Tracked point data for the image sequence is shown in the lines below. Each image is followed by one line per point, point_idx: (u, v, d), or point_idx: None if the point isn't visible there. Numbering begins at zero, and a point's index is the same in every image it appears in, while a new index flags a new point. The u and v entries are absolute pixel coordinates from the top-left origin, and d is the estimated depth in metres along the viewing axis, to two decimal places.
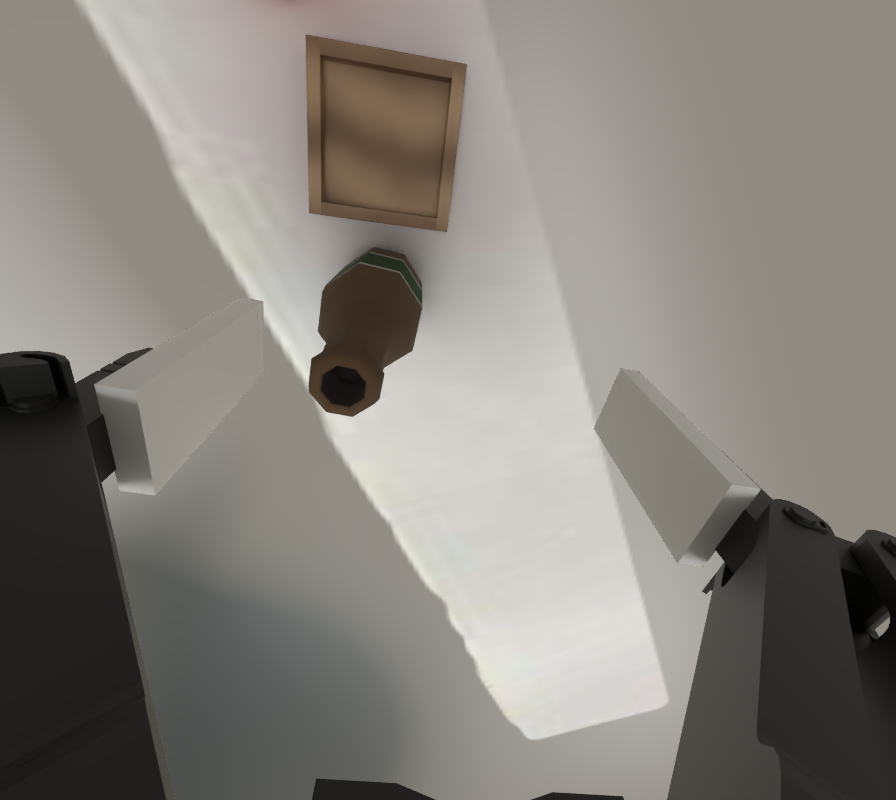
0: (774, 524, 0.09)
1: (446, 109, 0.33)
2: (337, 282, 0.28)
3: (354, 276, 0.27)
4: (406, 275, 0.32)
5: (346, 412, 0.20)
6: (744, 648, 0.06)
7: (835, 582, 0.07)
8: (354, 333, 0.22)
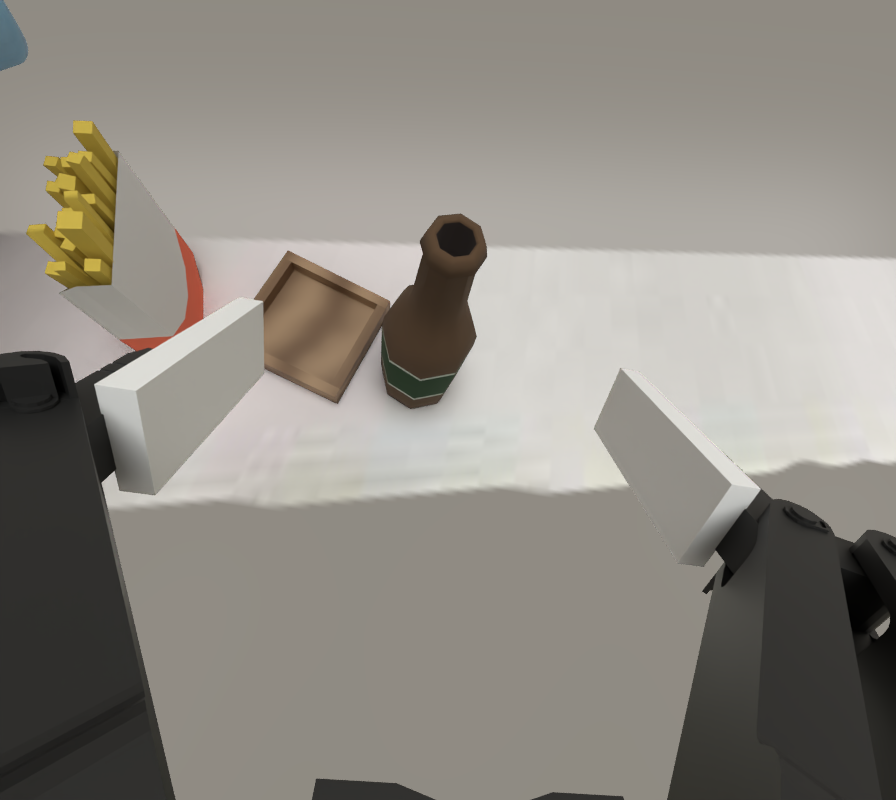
0: (774, 524, 0.09)
1: (308, 278, 0.44)
2: (388, 334, 0.31)
3: (388, 313, 0.31)
4: None
5: (480, 246, 0.22)
6: (744, 648, 0.06)
7: (835, 582, 0.07)
8: None
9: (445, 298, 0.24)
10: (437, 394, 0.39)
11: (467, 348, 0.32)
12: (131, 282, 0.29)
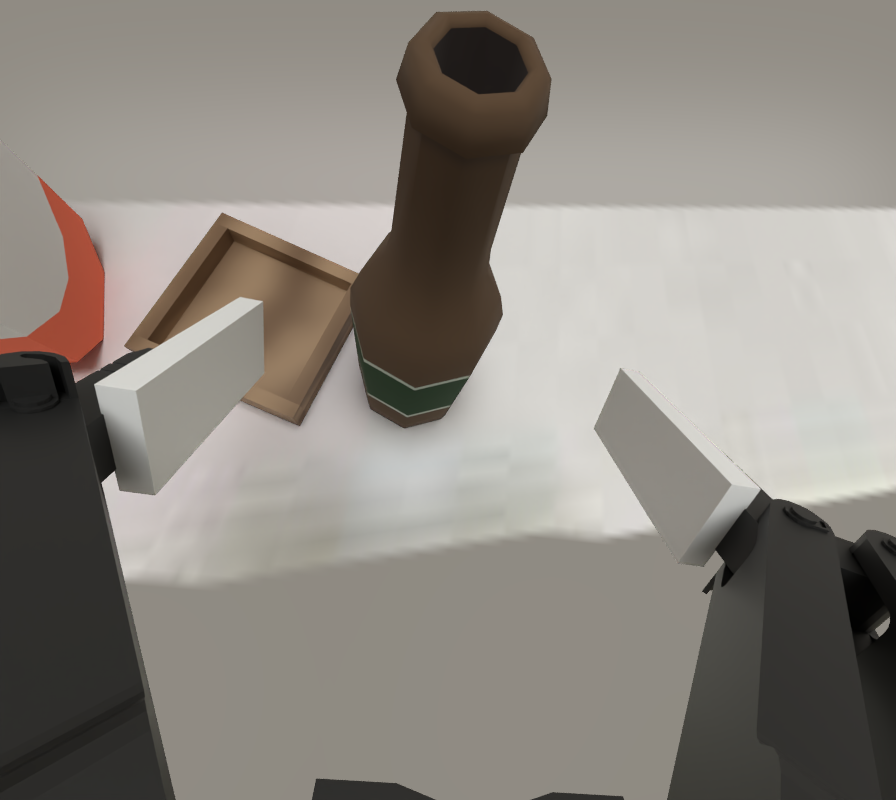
0: (774, 524, 0.09)
1: (255, 251, 0.32)
2: (358, 316, 0.19)
3: (356, 280, 0.18)
4: None
5: (538, 75, 0.09)
6: (744, 648, 0.06)
7: (835, 582, 0.07)
8: None
9: (456, 224, 0.12)
10: (441, 407, 0.27)
11: (489, 334, 0.19)
12: None
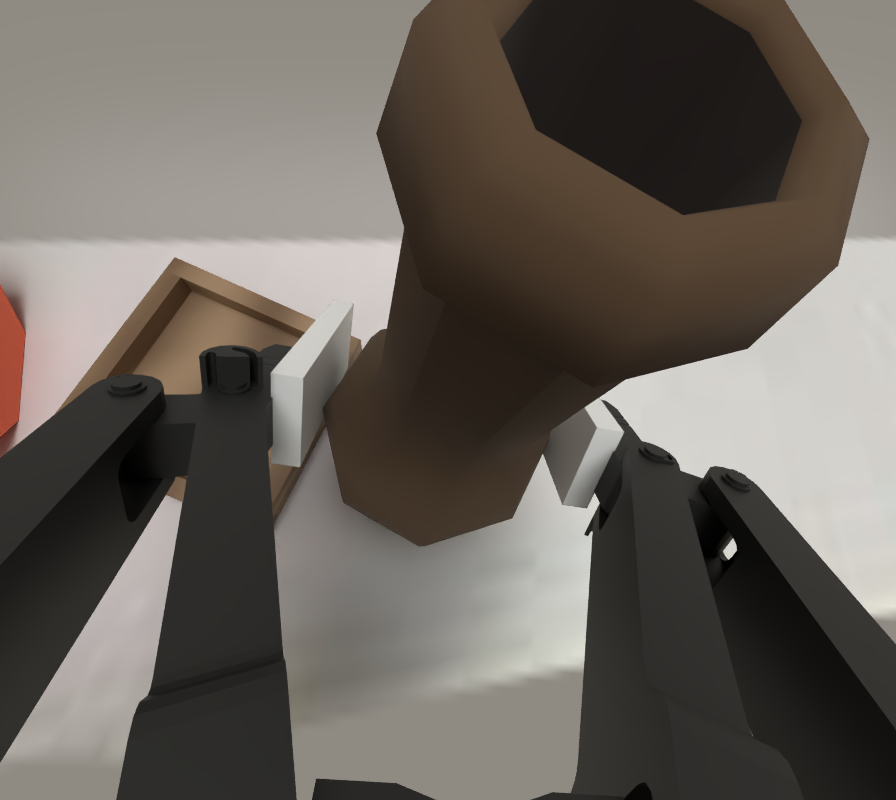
0: (634, 466, 0.09)
1: (217, 304, 0.25)
2: (334, 455, 0.12)
3: (330, 404, 0.12)
4: None
5: (850, 131, 0.03)
6: (624, 591, 0.07)
7: (684, 508, 0.08)
8: None
9: (515, 425, 0.06)
10: None
11: (531, 476, 0.13)
12: None
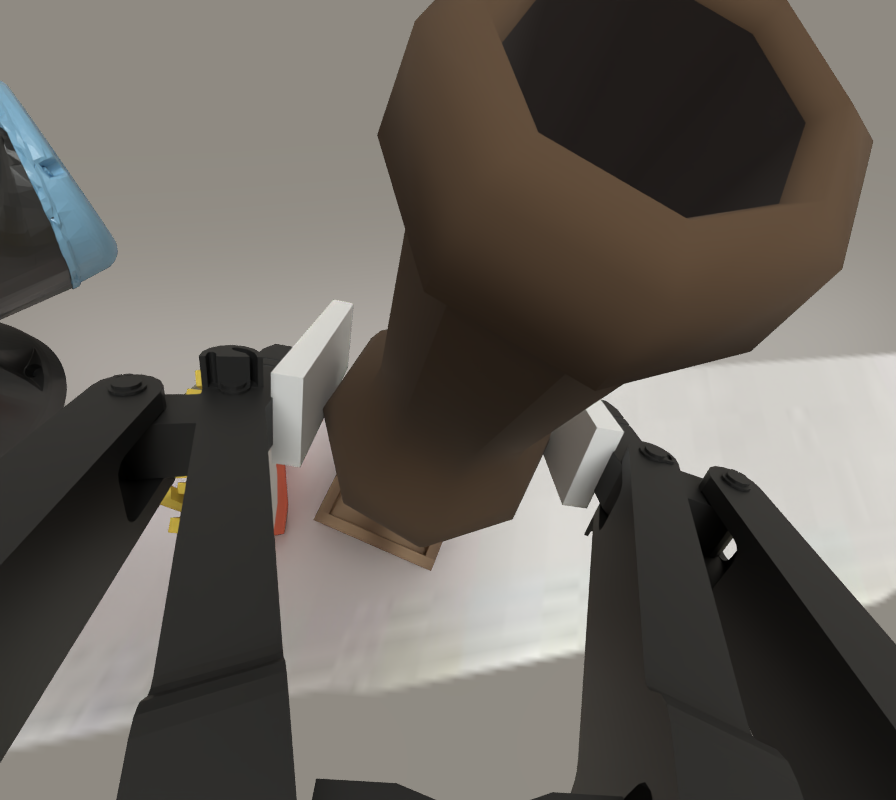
0: (634, 466, 0.09)
1: None
2: (334, 456, 0.12)
3: (329, 405, 0.12)
4: None
5: (855, 132, 0.03)
6: (625, 591, 0.07)
7: (684, 508, 0.08)
8: None
9: (516, 427, 0.06)
10: None
11: (531, 476, 0.13)
12: None
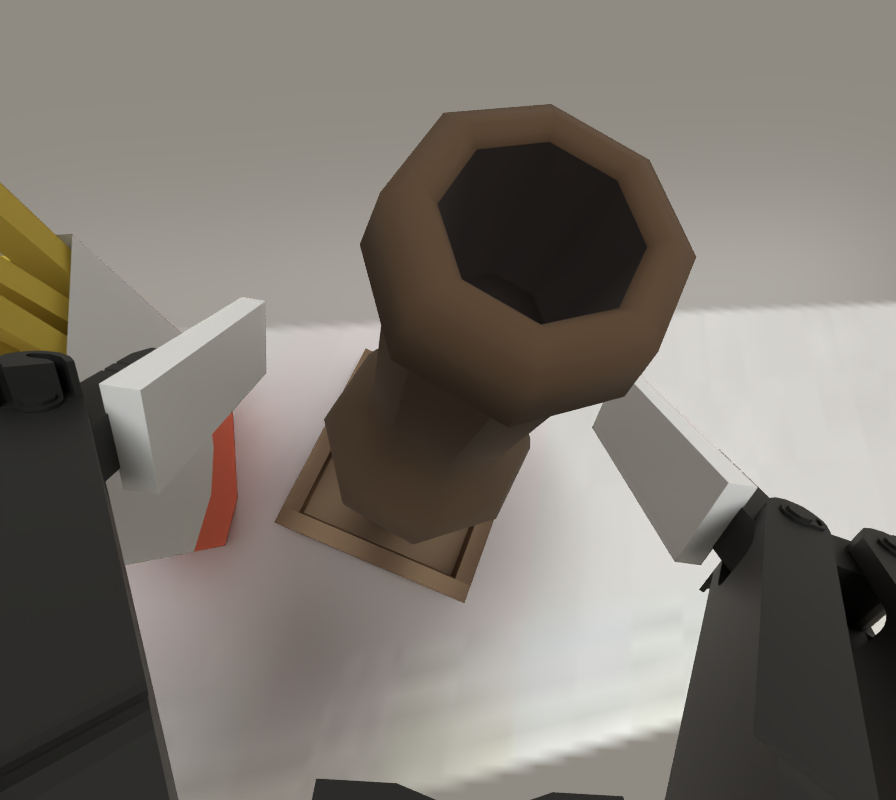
0: (771, 522, 0.09)
1: None
2: (334, 462, 0.14)
3: (330, 416, 0.13)
4: None
5: (674, 257, 0.04)
6: (741, 647, 0.06)
7: (831, 580, 0.07)
8: None
9: (477, 444, 0.07)
10: None
11: (513, 480, 0.14)
12: None
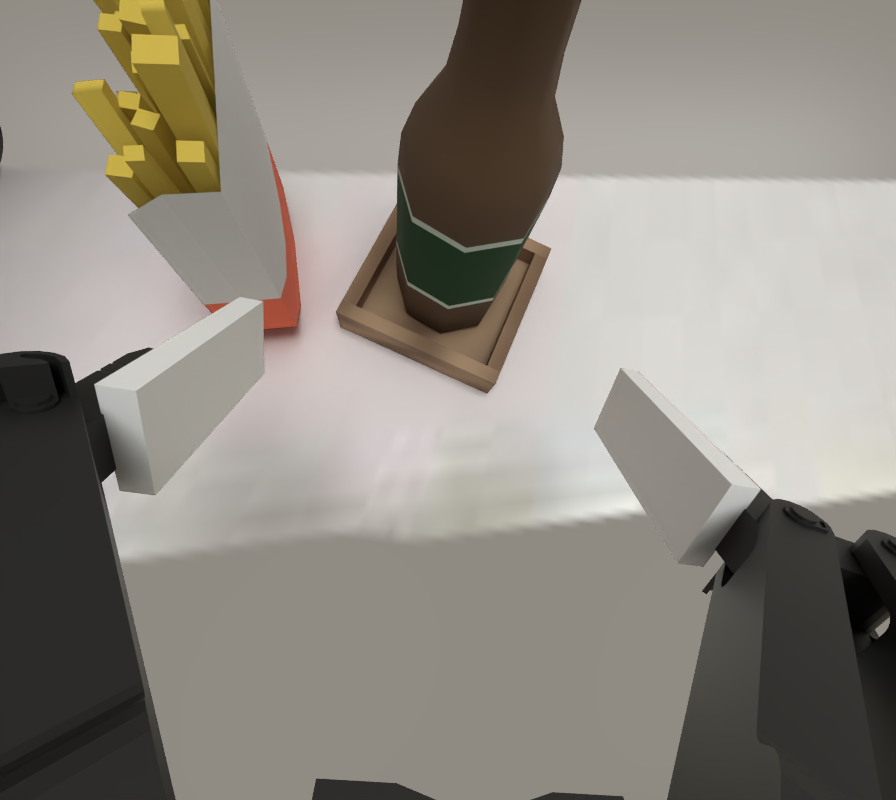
0: (774, 524, 0.09)
1: None
2: (411, 159, 0.18)
3: (409, 117, 0.17)
4: None
5: None
6: (744, 648, 0.06)
7: (835, 582, 0.07)
8: None
9: None
10: (483, 300, 0.26)
11: (548, 184, 0.18)
12: (238, 199, 0.18)
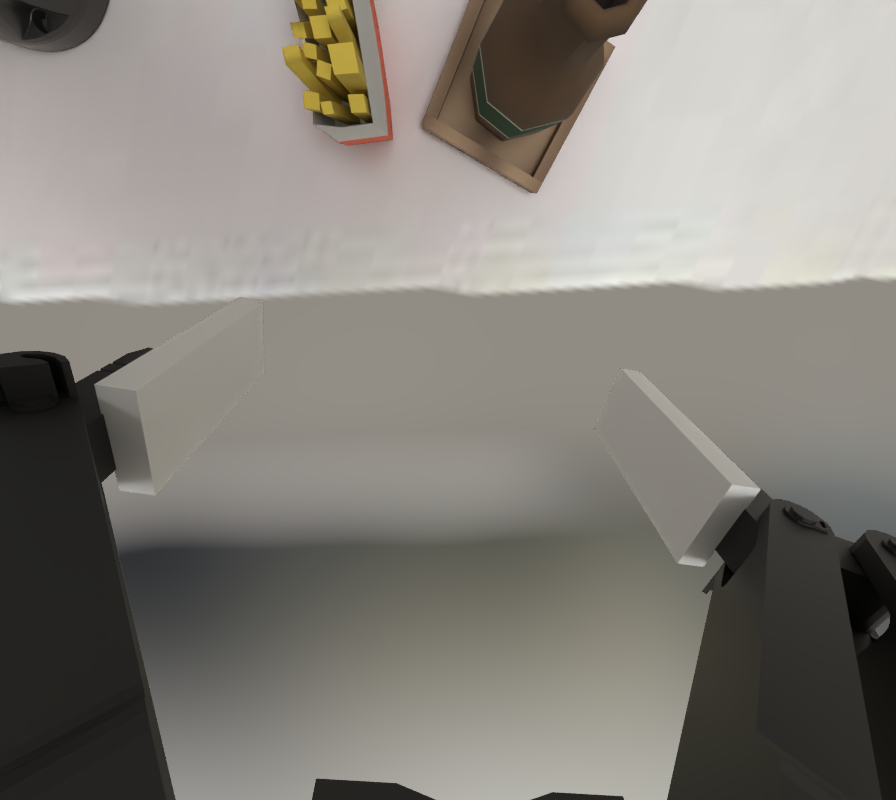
0: (774, 524, 0.09)
1: None
2: (490, 69, 0.25)
3: (492, 34, 0.23)
4: None
5: None
6: (744, 648, 0.06)
7: (835, 582, 0.07)
8: None
9: (577, 52, 0.19)
10: (536, 131, 0.33)
11: (587, 89, 0.25)
12: (372, 98, 0.26)
